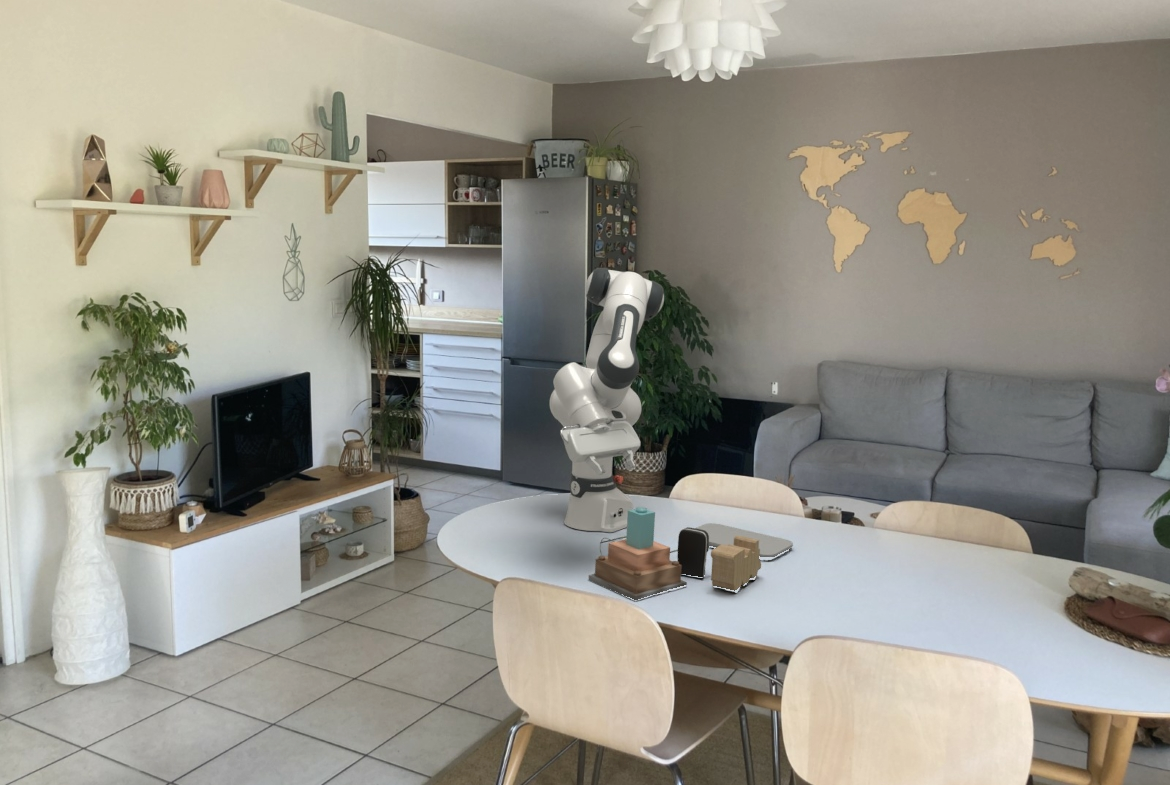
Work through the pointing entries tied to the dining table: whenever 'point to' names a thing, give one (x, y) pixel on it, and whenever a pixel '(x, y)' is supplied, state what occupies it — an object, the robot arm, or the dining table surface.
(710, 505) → the dining table surface
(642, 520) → the teal brick
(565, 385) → the robot arm
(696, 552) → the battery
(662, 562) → the wooden stepped box
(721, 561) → the toy train
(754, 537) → the tablet
